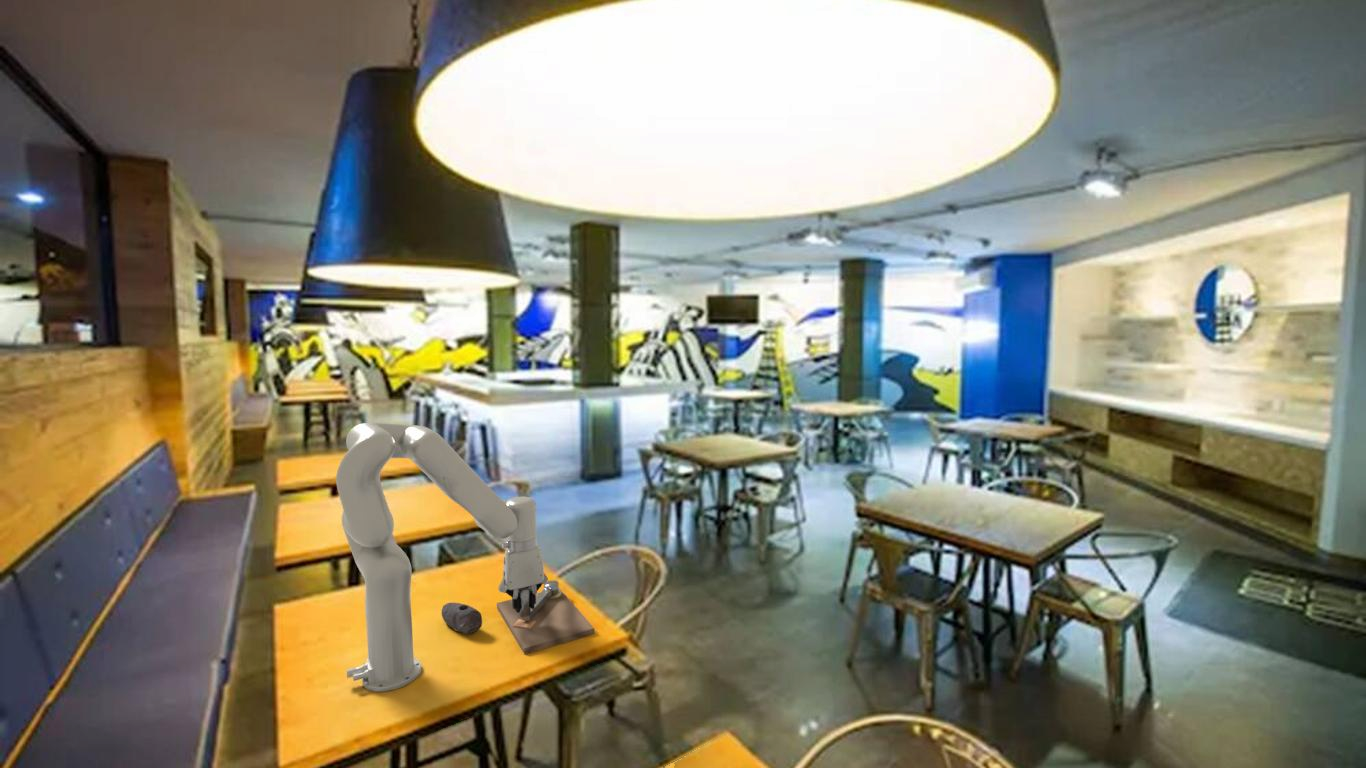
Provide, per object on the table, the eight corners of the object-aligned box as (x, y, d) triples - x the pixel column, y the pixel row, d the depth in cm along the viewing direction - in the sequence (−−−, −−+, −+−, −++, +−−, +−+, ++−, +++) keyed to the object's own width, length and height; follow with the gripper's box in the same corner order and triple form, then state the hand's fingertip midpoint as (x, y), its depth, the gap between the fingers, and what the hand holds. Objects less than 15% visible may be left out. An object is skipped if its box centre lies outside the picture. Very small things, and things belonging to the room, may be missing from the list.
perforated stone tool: (435, 623, 165) (434, 600, 164) (452, 616, 169) (451, 593, 169) (467, 641, 156) (466, 616, 156) (484, 632, 161) (483, 608, 160)
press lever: (514, 624, 160) (513, 584, 159) (547, 588, 182) (546, 552, 180) (529, 625, 159) (528, 585, 158) (560, 589, 181) (560, 553, 179)
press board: (524, 654, 150) (524, 647, 150) (496, 608, 174) (496, 602, 174) (594, 633, 160) (594, 627, 160) (559, 592, 184) (559, 587, 183)
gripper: (494, 554, 152) (496, 622, 154) (556, 542, 160) (558, 606, 162) (487, 545, 158) (490, 610, 160) (547, 533, 166) (549, 595, 168)
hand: (524, 608), depth 161 cm, fingers closed on press lever, 3 cm apart
